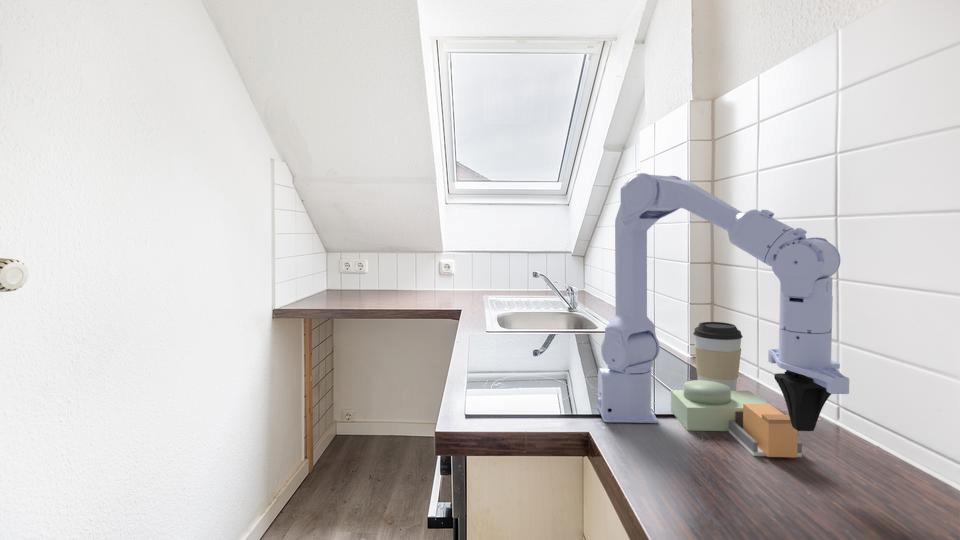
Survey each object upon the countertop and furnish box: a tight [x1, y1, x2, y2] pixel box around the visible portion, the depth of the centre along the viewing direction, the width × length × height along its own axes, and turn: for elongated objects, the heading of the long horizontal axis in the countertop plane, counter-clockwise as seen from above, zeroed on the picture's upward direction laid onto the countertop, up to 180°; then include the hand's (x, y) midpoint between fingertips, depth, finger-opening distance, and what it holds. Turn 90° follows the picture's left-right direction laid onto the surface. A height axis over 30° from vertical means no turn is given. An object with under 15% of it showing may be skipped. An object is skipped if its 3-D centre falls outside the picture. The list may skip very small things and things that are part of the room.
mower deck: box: [670, 379, 803, 458], centre depth 78 cm, size 14×18×6 cm
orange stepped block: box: [743, 403, 799, 458], centre depth 71 cm, size 4×8×6 cm, turn 174°
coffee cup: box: [692, 321, 743, 391], centre depth 95 cm, size 9×9×15 cm
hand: (803, 429), depth 62 cm, fingers closed
